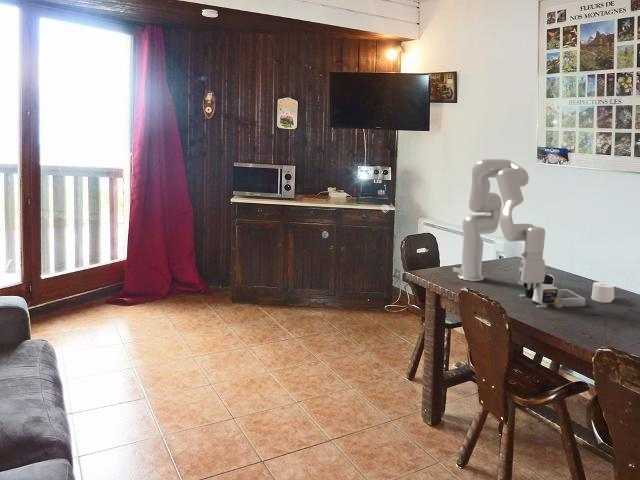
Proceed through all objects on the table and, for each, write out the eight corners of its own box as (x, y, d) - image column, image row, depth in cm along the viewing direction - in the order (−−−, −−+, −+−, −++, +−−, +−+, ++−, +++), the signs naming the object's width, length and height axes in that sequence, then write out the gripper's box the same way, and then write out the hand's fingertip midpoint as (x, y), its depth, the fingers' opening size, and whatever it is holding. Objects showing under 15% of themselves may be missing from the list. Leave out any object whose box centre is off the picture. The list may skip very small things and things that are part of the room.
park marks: (537, 307, 231) (537, 305, 231) (519, 296, 247) (519, 294, 246) (546, 307, 232) (546, 305, 232) (527, 296, 247) (528, 294, 247)
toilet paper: (614, 297, 249) (616, 283, 247) (610, 303, 240) (612, 288, 238) (594, 294, 253) (596, 279, 252) (589, 300, 244) (591, 284, 243)
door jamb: (556, 308, 231) (557, 298, 231) (535, 295, 249) (536, 286, 248) (561, 307, 232) (562, 298, 231) (539, 295, 249) (540, 286, 248)
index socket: (561, 306, 234) (562, 298, 233) (544, 296, 247) (544, 289, 247) (584, 306, 235) (585, 298, 234) (566, 296, 249) (566, 289, 248)
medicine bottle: (541, 305, 235) (544, 277, 232) (531, 299, 242) (534, 273, 239) (556, 304, 237) (559, 276, 234) (545, 299, 243) (548, 272, 241)
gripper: (520, 258, 230) (516, 300, 234) (554, 257, 232) (550, 300, 236) (512, 254, 238) (508, 295, 241) (545, 254, 239) (541, 295, 243)
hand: (529, 297), depth 238 cm, fingers closed
